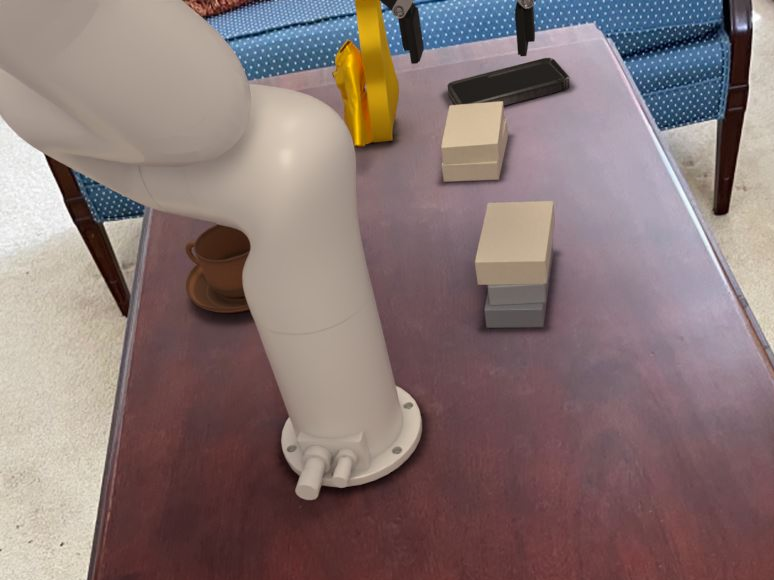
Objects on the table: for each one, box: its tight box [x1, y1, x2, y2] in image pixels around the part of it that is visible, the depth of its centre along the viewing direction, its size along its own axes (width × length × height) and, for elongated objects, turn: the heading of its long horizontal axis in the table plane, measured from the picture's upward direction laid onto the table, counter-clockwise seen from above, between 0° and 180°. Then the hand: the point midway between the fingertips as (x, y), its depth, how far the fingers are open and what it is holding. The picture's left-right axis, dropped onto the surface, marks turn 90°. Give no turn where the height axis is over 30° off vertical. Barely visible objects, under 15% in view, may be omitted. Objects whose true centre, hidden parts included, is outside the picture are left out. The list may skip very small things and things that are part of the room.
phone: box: [447, 57, 570, 106], centre depth 124 cm, size 8×1×15 cm
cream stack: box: [440, 101, 509, 183], centre depth 112 cm, size 10×7×4 cm
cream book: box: [474, 200, 556, 286], centre depth 91 cm, size 10×7×3 cm, turn 172°
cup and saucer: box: [184, 224, 251, 314], centre depth 99 cm, size 12×12×6 cm
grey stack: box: [483, 245, 554, 329], centre depth 94 cm, size 12×6×4 cm, turn 172°
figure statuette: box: [331, 0, 400, 148], centre depth 113 cm, size 18×8×22 cm, turn 5°
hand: (470, 53), depth 84 cm, fingers open, 9 cm apart
